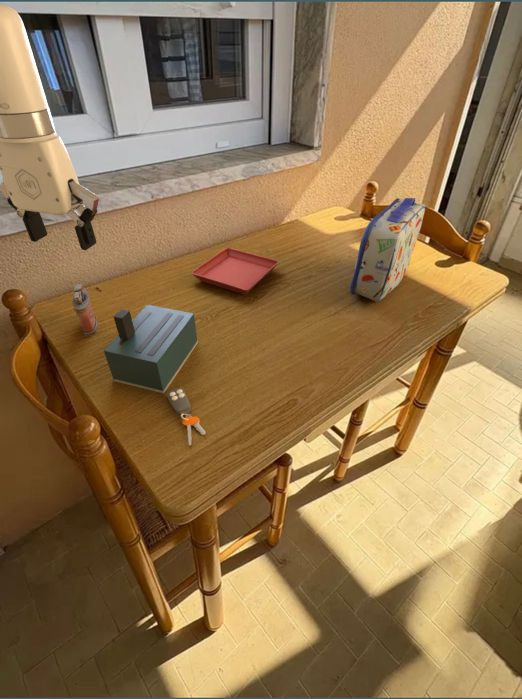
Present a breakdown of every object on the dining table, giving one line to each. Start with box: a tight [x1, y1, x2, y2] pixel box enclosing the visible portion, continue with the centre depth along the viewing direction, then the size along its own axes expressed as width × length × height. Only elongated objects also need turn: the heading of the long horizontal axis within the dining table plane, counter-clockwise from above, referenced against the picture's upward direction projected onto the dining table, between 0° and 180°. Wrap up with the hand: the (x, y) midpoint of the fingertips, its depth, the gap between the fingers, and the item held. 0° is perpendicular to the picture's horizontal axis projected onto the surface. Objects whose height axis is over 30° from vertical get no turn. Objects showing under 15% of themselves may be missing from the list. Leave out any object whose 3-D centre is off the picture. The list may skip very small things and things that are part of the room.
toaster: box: [103, 304, 199, 395], centre depth 78 cm, size 11×16×8 cm
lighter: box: [72, 283, 99, 337], centre depth 86 cm, size 8×3×10 cm, turn 17°
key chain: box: [165, 387, 207, 447], centre depth 69 cm, size 13×4×2 cm, turn 29°
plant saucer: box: [191, 247, 280, 295], centre depth 106 cm, size 18×18×3 cm
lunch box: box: [349, 197, 426, 303], centre depth 98 cm, size 28×10×22 cm, turn 148°
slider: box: [113, 308, 135, 340], centre depth 72 cm, size 2×3×5 cm
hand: (64, 242), depth 63 cm, fingers open, 9 cm apart
